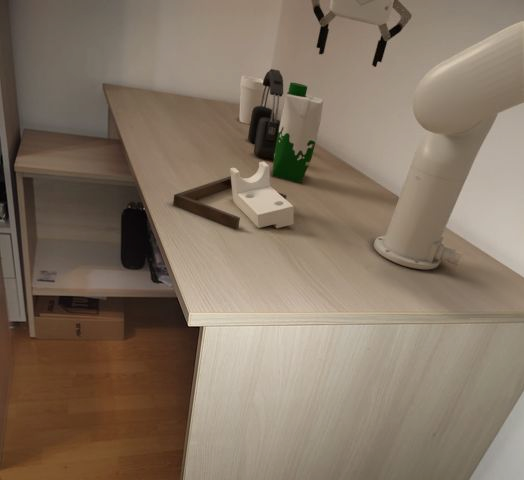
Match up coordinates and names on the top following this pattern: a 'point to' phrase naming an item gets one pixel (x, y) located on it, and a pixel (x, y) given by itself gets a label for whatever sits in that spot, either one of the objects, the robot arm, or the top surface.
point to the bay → (188, 203)
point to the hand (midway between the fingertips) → (347, 60)
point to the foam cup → (250, 96)
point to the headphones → (266, 118)
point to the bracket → (260, 199)
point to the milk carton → (297, 133)
